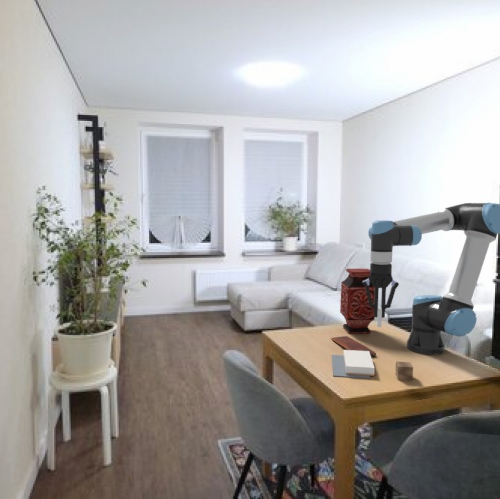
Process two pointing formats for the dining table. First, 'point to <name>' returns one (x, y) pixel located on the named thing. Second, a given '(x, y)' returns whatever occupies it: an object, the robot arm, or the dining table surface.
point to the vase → (356, 302)
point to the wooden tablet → (352, 344)
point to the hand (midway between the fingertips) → (378, 325)
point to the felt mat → (342, 368)
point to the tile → (358, 362)
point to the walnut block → (404, 371)
